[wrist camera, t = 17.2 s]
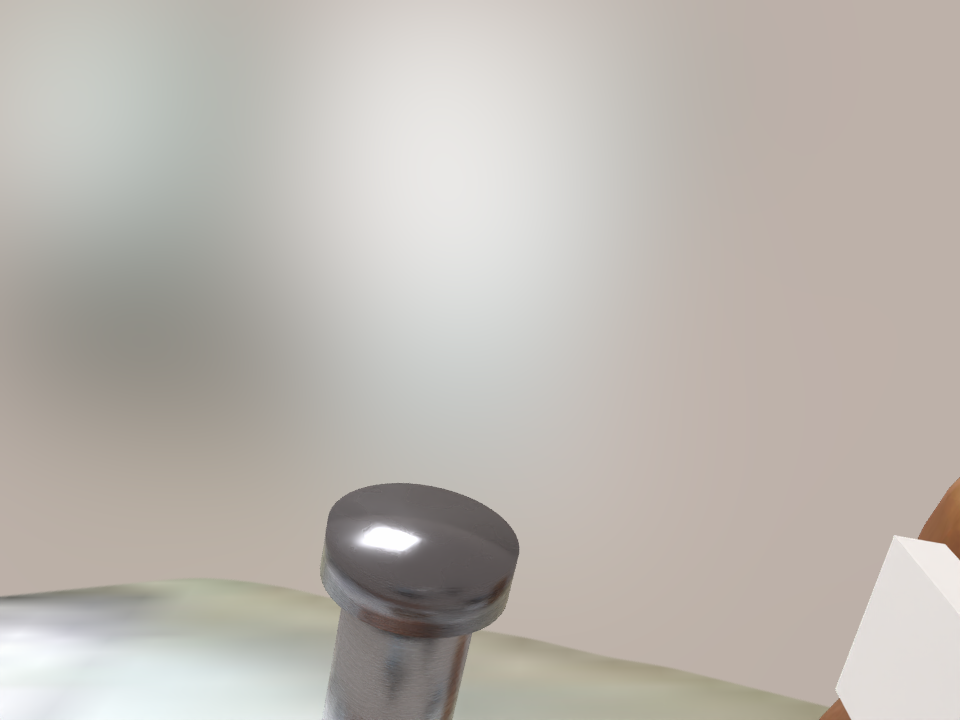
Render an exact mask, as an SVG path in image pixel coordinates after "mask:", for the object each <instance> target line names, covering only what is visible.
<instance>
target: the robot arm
mask: <svg viewBox="0 0 960 720" xmlns="http://www.w3.org/2000/svg"><path fill="white" fill-rule="evenodd" d="M835 690H836V692H837V694H838V696H839V697H840V699H841V701H842V703H843V705H844V707H845V709H846V711H847V713H848V715H849V716H850V718H851V720H960V560H959V559H958V558H957V557H956V556H955V554H954V553H953V552H952V551H951V550H950V549H949V548H948V547H947V546H946V545H945V544H941V543H935V542H929V541H924V540H918V539H912V538H906V537H900V536H894V537H893V540H892V543H891V545H890V548H889V550H888V553H887V556H886V558H885V561H884V563H883V566H882V569H881V571H880V574H879V577H878V579H877V582H876V584H875V587H874V590H873V592H872V595H871V597H870V600H869V603H868V605H867V608H866V610H865V613H864V616H863V618H862V621H861V623H860V626H859V629H858V631H857V634H856V637H855V639H854V642H853V644H852V647H851V650H850V652H849V655H848V657H847V660H846V663H845V666H844V668H843V670H842V673H841V676H840V678H839V681H838V684H837V686H836V689H835Z"/></svg>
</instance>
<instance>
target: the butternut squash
mask: <svg viewBox="0 0 960 720" xmlns="http://www.w3.org/2000/svg"><path fill="white" fill-rule="evenodd" d="M918 540H924V541H929V542H935V543H941V544H945V545H946V546H947V547H948V548H949V549H950V550H951V551H952V552H953V553H954V554H955V556H956V557H957V558H958V559H959V560H960V478H959V479H958V480H957V481H956V482H955V483H954V484H953V485H952V486H951V487H950V488H949V489H948V491H947V492H946V494H945V495H944V497H943V498H942V500H941V501H940V503H939V504H938V506H937V507H936V509H935V510H934V512H933V513H932V515H931V516H930V518H929V519H928V521H927V522H926V524H925V525H924V527H923V529H922V531H921V533H920V535H919V537H918ZM819 720H851V718H850V716H849V715H848V713H847V711H846V709H845V707H844V705H843V703H842V701H841V699H840V698H839V699H838V700H837V701H836V702H835V703H834V704H833V705H832V706H831V707H830V708H829V709H828V711H827V712H826V713H825V714H824V715H823V716H822V717H821V718H820V719H819Z"/></svg>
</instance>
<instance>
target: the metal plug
mask: <svg viewBox="0 0 960 720" xmlns="http://www.w3.org/2000/svg"><path fill="white" fill-rule="evenodd" d="M518 555H519V543H518V539H517V537H516V534H515V533H514V531H513V530H512V528H511V527H510V526H509V524H508V523H507V522H506V521H505V520H504V519H503V518H502V517H501V516H499V515H498V514H497V513H496V512H494V511H493V510H492V509H490V508H488V507H487V506H485V505H483V504H481V503H479V502H478V501H476V500H473V499H471V498H469V497H467V496H464V495H461V494H458V493H455V492H452V491H449V490H445V489H442V488H437V487H432V486H426V485H420V484H409V483H392V484H380V485H373V486H368V487H365V488H361V489H358V490H355V491H353V492H351V493H349V494H347V495H345V496H344V497H342V498H341V499H340V500H338V501H337V502H336V503H335V505H334V506H333V507H332V509H331V511H330V513H329V517H328V522H327V529H326V534H325V541H324V547H323V553H322V560H321V566H320V575H321V579H322V583H323V585H324V587H325V589H326V591H327V592H328V594H329V595H330V597H331V598H332V599H333V600H334V601H335V602H336V603H337V604H338V605H339V606H340V607H341V613H340V618H339V624H338V630H337V636H336V642H335V648H334V654H333V659H332V665H331V671H330V677H329V683H328V689H327V694H326V700H325V706H324V712H323V718H322V720H452V718H453V714H454V710H455V705H456V701H457V697H458V692H459V688H460V684H461V679H462V675H463V670H464V666H465V662H466V657H467V653H468V649H469V644H470V640H471V636H472V633H473V632H475V631H478V630H481V629H483V628H484V627H486V626H488V625H490V624H491V623H492V622H494V621H495V620H496V619H497V618H498V617H499V616H500V615H501V614H502V612H503V611H504V609H505V607H506V603H507V601H508V597H509V592H510V588H511V584H512V580H513V576H514V572H515V568H516V564H517V559H518Z"/></svg>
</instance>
